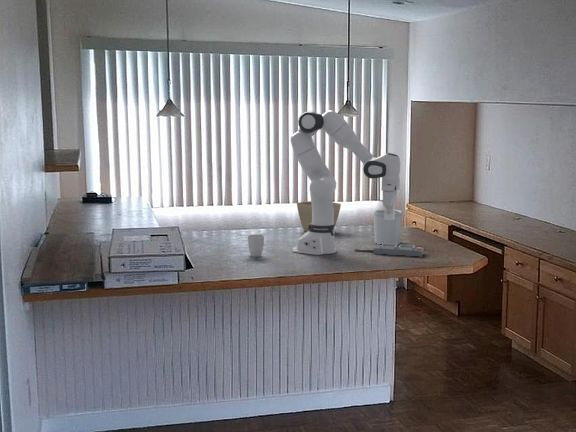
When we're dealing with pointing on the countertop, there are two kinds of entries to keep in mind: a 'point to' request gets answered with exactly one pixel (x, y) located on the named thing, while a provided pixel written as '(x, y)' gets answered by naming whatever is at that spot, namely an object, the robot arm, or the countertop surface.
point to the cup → (256, 245)
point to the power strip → (396, 250)
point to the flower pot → (306, 213)
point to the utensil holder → (387, 228)
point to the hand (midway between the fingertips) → (389, 213)
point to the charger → (392, 214)
